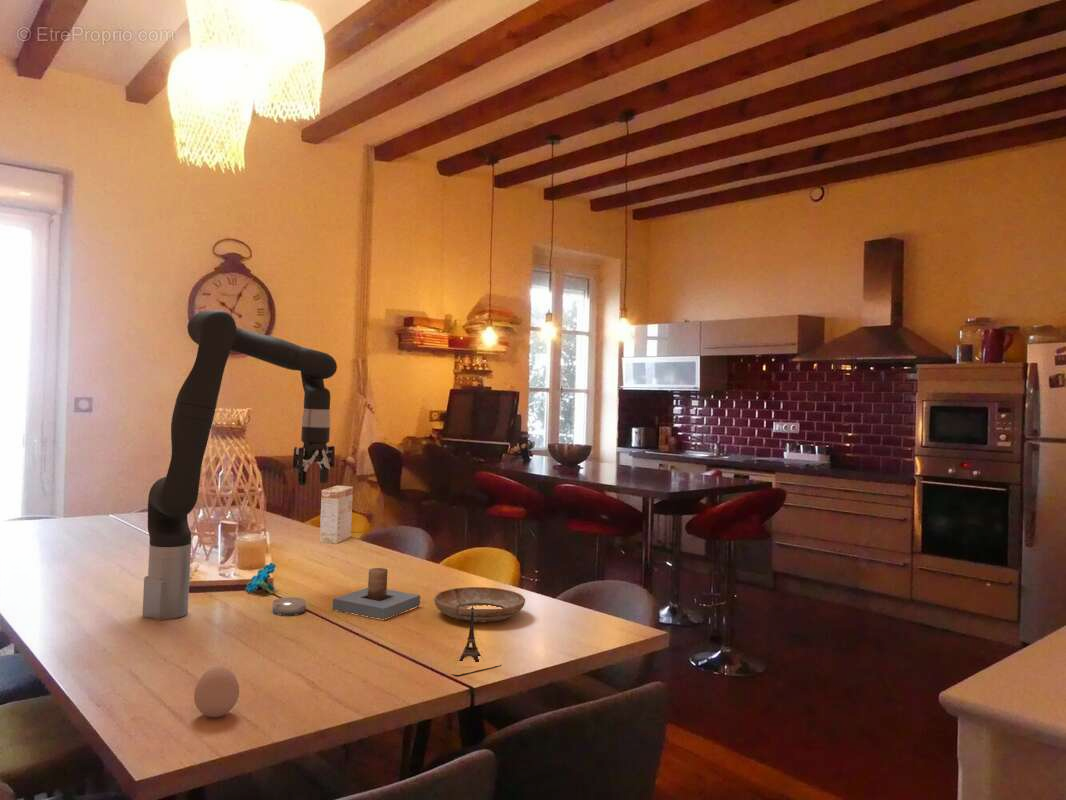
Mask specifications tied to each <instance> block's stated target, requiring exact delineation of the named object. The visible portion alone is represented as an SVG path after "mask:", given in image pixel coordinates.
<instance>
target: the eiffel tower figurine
mask: <svg viewBox="0 0 1066 800" xmlns="http://www.w3.org/2000/svg"><path fill="white" fill-rule="evenodd" d="M469 623H470V625H469V630H468V637H467V639H466V640H467V642H466V646H464V648H463V650H462V651H463V652H462V653H461V656H460V657H461V658H460V657H459V658H460V660H459V661H463V659H464V658H469V657H470V658H473V659H474V660H475V662H479V659H478V656H481V657H482V655H481V652H479V650H478V649H479V647H478V646H477V645H476V643H477V642H476V637H475V629H474V627H475V625H474V623H475V622H474V608H473V607H472V608H471V621H469ZM470 644H471V646H470Z"/></svg>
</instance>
